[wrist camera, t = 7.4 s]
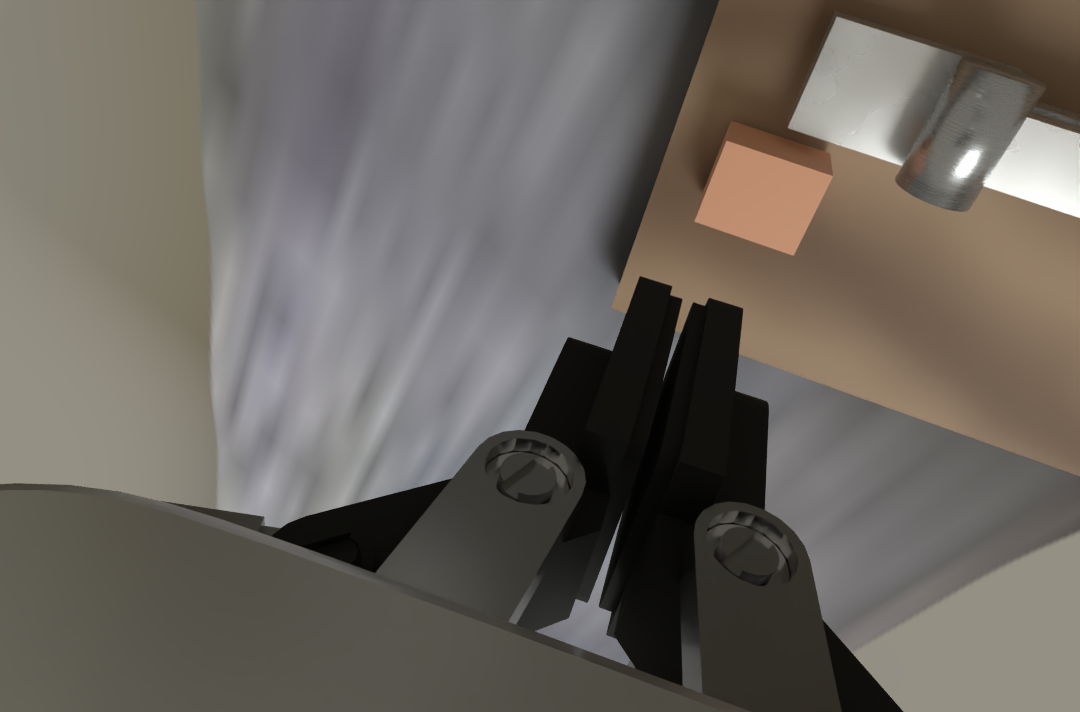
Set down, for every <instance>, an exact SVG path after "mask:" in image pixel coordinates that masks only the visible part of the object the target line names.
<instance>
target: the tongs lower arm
mask: <svg viewBox="0 0 1080 712" xmlns="http://www.w3.org/2000/svg"><path fill="white" fill-rule="evenodd" d="M963 56H969V57H975V58H979V59H983V60H987V61H991V62H994V63H997V64H1000V65H1003V66H1006V67H1009V68H1011V69H1014V70H1017V71H1019V72H1022V73H1024V74H1026V73H1025V72H1023V71H1022V70H1021V69H1020V68H1016V67H1013V66H1010V65H1007V64H1004V63H1001V62H997V61H994V60H991V59H988V58H985V57H981V56H978V55H975V54H972V53H969V52H966V51H962V50H959V49H956V48H953V47H950V46H946V45H943V44H940V43H937V42H934V41H931V40H927V39H924V38H921V37H918V36H915V35H911V34H908V33H905V32H902V31H899V30H896V29H892V28H889V27H886V26H883V25H880V24H876V23H873V22H870V21H867V20H864V19H860V18H857V17H854V16H851V15H848V14H845V13H841V12H838V11H835V12H834V14H833V16H832V19H831V21H830V23H829V25H828V28H827V30H826V32H825V35H824V37H823V39H822V41H821V44H820V46H819V48H818V50H817V53H816V55H815V57H814V60H813V62H812V64H811V66H810V69H809V71H808V73H807V76H806V78H805V80H804V82H803V85H802V87H801V89H800V91H799V94H798V96H797V98H796V101H795V103H794V105H793V107H792V110H791V112H790V114H789V116H788V129H791V130H795V131H798V132H801V133H804V134H807V135H810V136H813V137H816V138H819V139H822V140H825V141H828V142H831V143H834V144H837V145H840V146H843V147H846V148H849V149H852V150H855V151H858V152H861V153H864V154H867V155H870V156H873V157H876V158H879V159H882V160H885V161H889V162H892V163H895V164H898V165H901V166H902V165H903V163H904V161H905V159H906V158H907V156H908V154H909V152H910V150H911V149H912V147H913V145H914V143H915V141H916V140H917V138H918V136H919V134H920V132H921V130H922V129H923V127H924V125H925V123H926V121H927V120H928V118H929V116H930V114H931V112H932V111H933V109H934V107H935V105H936V103H937V101H938V100H939V98H940V96H941V94H942V92H943V91H944V89H945V87H946V85H947V83H948V82H949V80H950V78H951V76H952V74H953V72H954V71H955V69H956V67H957V65H958V63H959V62H960V60H961V58H962V57H963ZM1026 75H1027V74H1026ZM1032 111H1033V112H1037V113H1040V114H1043V115H1046V116H1049V117H1052V118H1055V119H1058V120H1062V121H1065V122H1068V123H1071V124H1074V125H1077V126H1080V114H1077V113H1074V112H1071V111H1067V110H1064V109H1061V108H1058V107H1055V106H1052V105H1049V104H1045V103H1042V102H1039V101H1038V102H1037V104H1036V105H1035V107H1034V109H1033V110H1032Z"/></svg>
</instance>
